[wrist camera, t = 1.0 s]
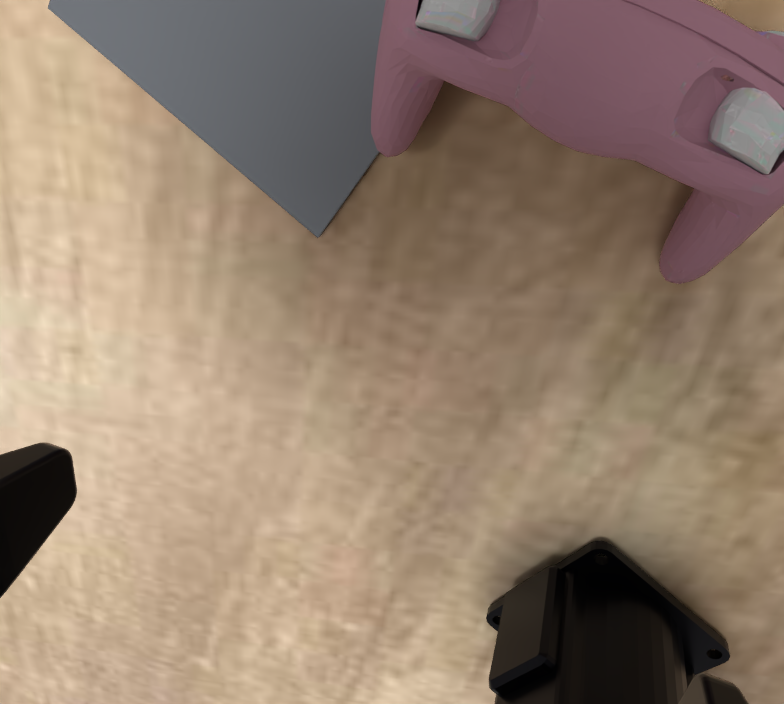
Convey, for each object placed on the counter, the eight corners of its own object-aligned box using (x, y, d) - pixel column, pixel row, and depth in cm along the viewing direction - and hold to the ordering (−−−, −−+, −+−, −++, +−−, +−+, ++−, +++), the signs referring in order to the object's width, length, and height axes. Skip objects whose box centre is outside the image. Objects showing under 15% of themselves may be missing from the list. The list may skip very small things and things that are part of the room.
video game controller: (761, 141, 17) (972, 19, 10) (684, 296, 17) (834, 281, 10) (429, 2, 18) (411, -202, 11) (362, 153, 18) (304, 51, 11)
